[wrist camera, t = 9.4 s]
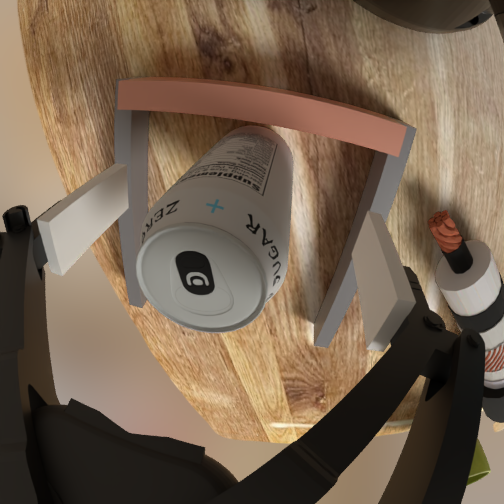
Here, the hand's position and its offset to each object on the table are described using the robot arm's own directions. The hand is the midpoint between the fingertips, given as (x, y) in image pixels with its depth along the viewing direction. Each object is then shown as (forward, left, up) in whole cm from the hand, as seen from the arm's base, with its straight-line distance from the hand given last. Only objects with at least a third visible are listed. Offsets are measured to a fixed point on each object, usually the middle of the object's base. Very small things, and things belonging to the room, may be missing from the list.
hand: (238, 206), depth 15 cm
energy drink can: (0, 0, -9) cm, 9 cm away
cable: (+10, +29, -9) cm, 32 cm away
